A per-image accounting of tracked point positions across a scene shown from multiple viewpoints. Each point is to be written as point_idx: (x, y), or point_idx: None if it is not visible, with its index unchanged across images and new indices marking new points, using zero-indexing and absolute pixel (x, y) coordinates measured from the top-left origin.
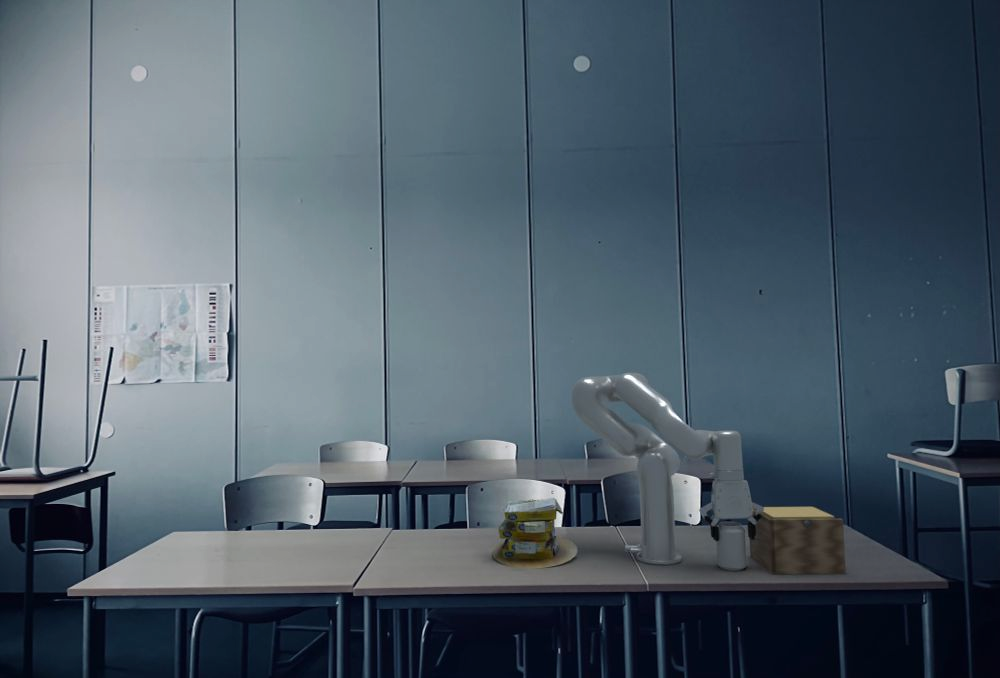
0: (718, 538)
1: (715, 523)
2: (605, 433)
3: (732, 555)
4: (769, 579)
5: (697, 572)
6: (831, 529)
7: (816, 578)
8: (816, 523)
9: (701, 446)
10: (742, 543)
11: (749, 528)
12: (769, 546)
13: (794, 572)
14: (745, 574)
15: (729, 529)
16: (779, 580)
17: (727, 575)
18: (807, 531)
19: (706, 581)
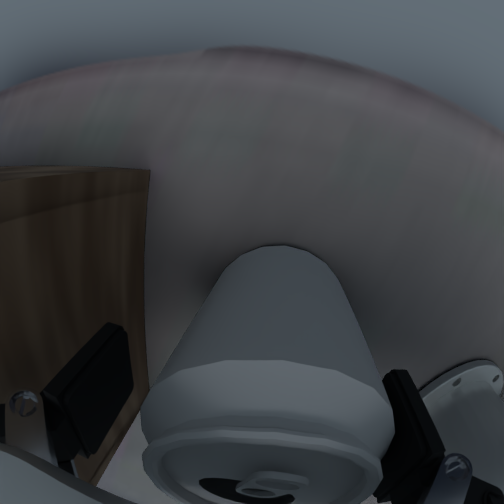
0: (394, 380)
1: (443, 476)
2: None
3: (310, 271)
4: (198, 96)
5: (448, 263)
6: None
7: (49, 115)
8: None
9: None
10: (218, 308)
11: (96, 408)
12: (68, 202)
13: (74, 166)
14: (269, 187)
15: (338, 414)
16: (166, 81)
17: (361, 190)
18: None
19: (468, 137)
